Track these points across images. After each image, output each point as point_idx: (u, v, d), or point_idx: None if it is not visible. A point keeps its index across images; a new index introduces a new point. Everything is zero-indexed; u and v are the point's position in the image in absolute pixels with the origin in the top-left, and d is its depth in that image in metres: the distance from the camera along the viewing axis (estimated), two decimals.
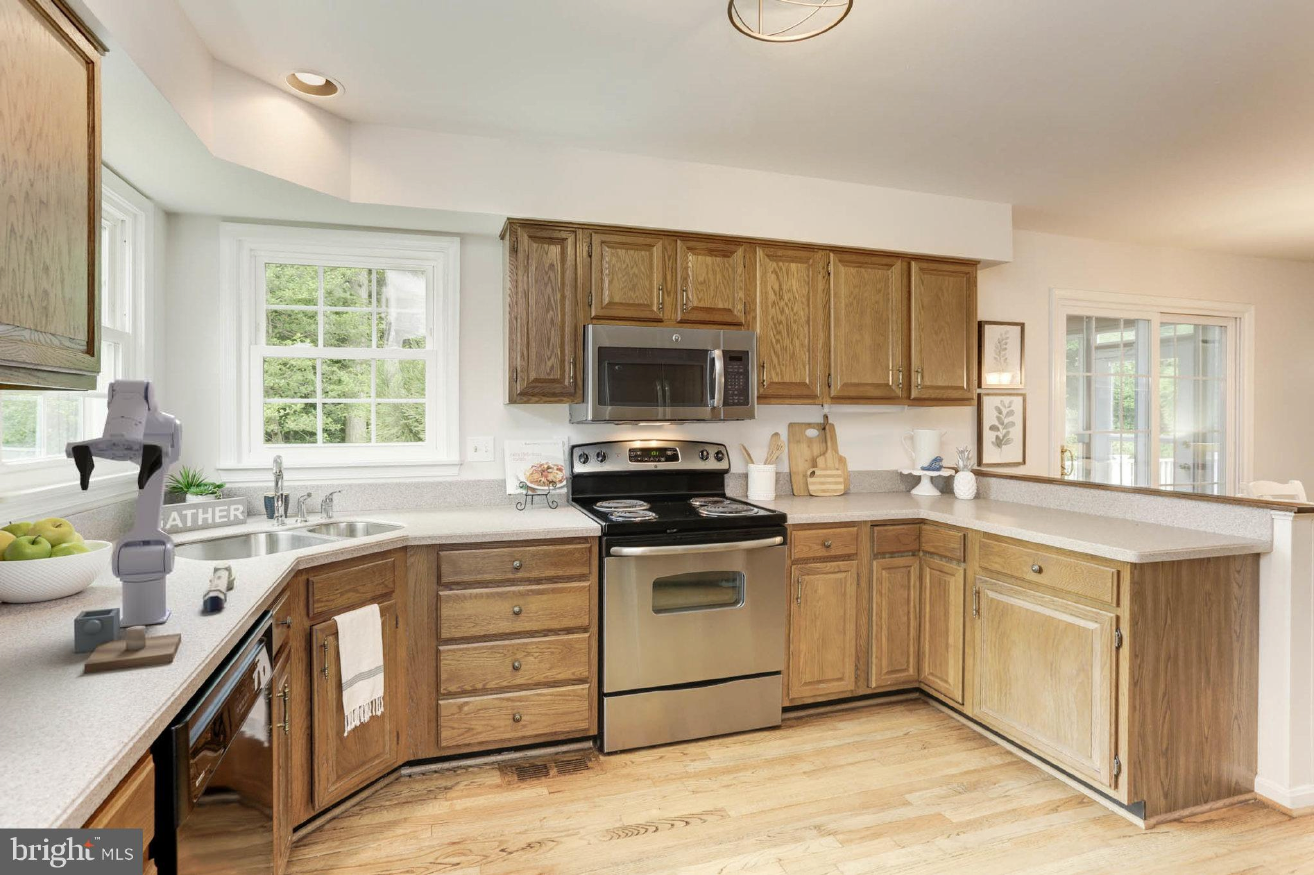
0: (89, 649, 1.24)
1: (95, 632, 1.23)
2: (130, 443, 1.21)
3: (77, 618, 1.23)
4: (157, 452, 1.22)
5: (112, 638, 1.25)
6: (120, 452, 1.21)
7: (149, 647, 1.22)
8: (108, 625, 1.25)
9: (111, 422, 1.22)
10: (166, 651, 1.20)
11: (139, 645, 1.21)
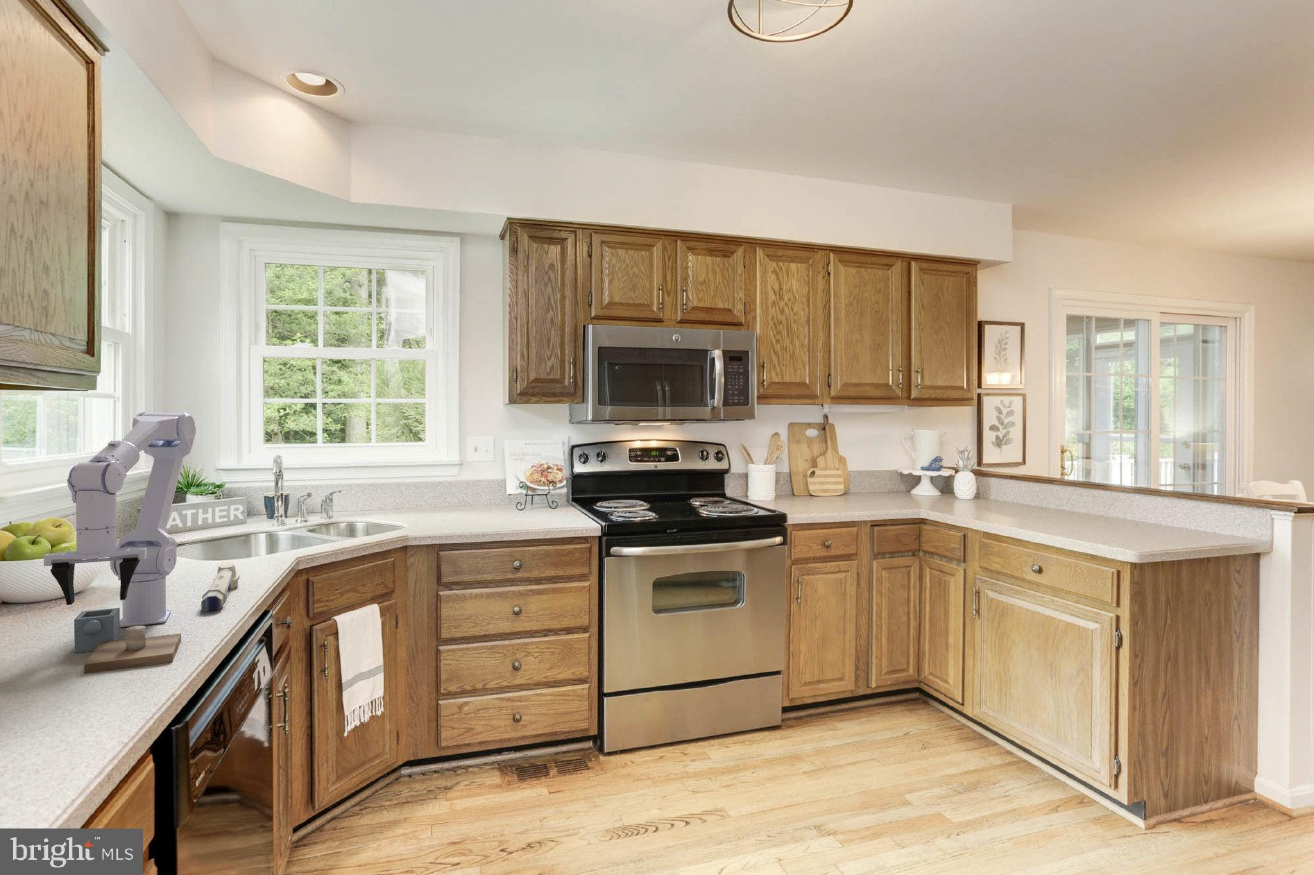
0: (89, 649, 1.24)
1: (95, 632, 1.23)
2: (106, 556, 1.25)
3: (77, 618, 1.23)
4: (134, 568, 1.27)
5: (112, 638, 1.25)
6: (97, 560, 1.26)
7: (149, 647, 1.22)
8: (108, 625, 1.25)
9: (83, 534, 1.23)
10: (166, 651, 1.20)
11: (139, 645, 1.21)
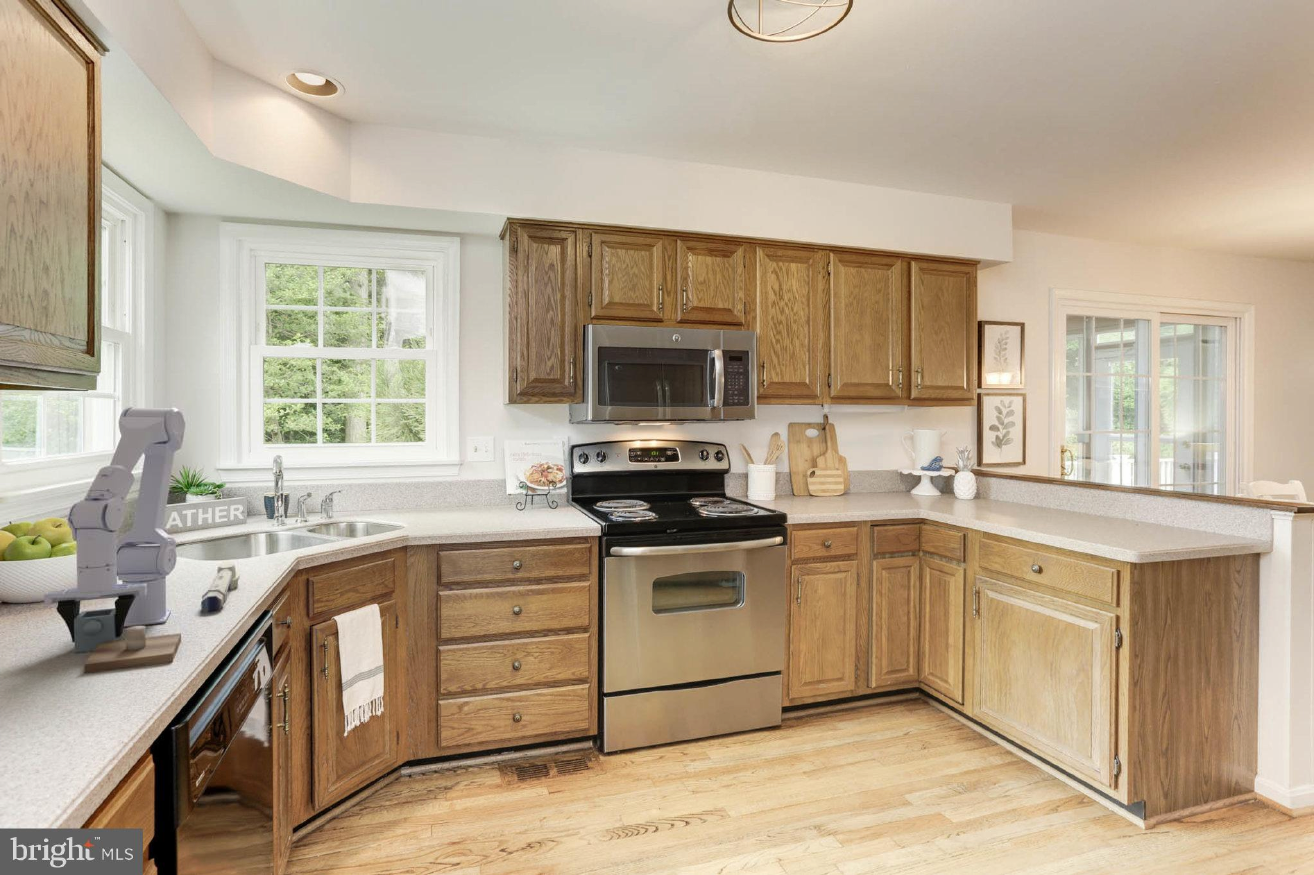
0: (89, 649, 1.24)
1: (95, 632, 1.23)
2: None
3: (77, 618, 1.23)
4: (129, 605, 1.27)
5: (112, 638, 1.25)
6: (98, 597, 1.26)
7: (149, 647, 1.22)
8: (108, 625, 1.25)
9: (83, 572, 1.23)
10: (166, 651, 1.20)
11: (139, 645, 1.21)
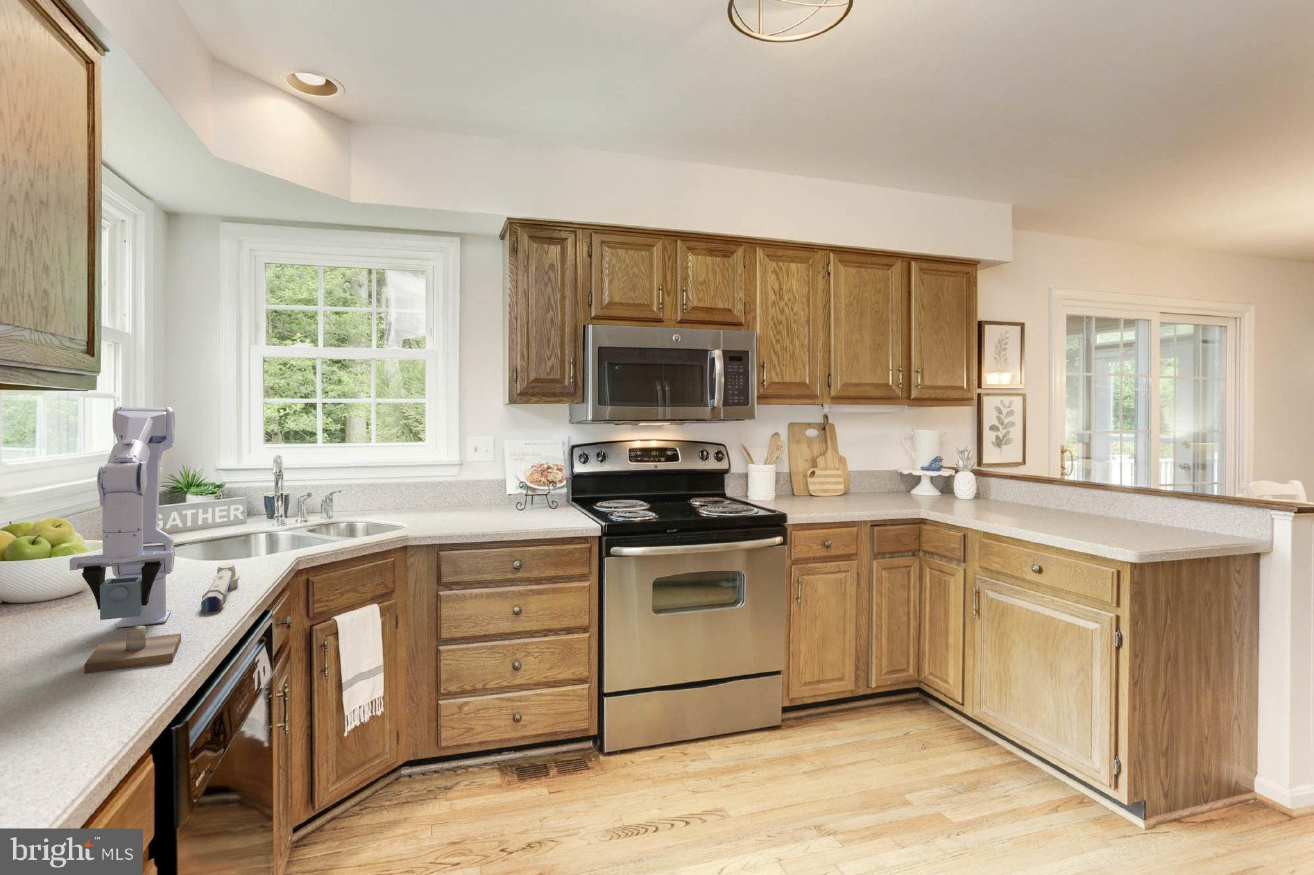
0: (115, 617, 1.20)
1: (121, 599, 1.19)
2: None
3: (103, 584, 1.20)
4: (156, 572, 1.23)
5: (138, 606, 1.22)
6: (124, 564, 1.22)
7: (149, 647, 1.22)
8: (134, 592, 1.21)
9: (109, 537, 1.20)
10: (166, 651, 1.20)
11: (139, 645, 1.21)
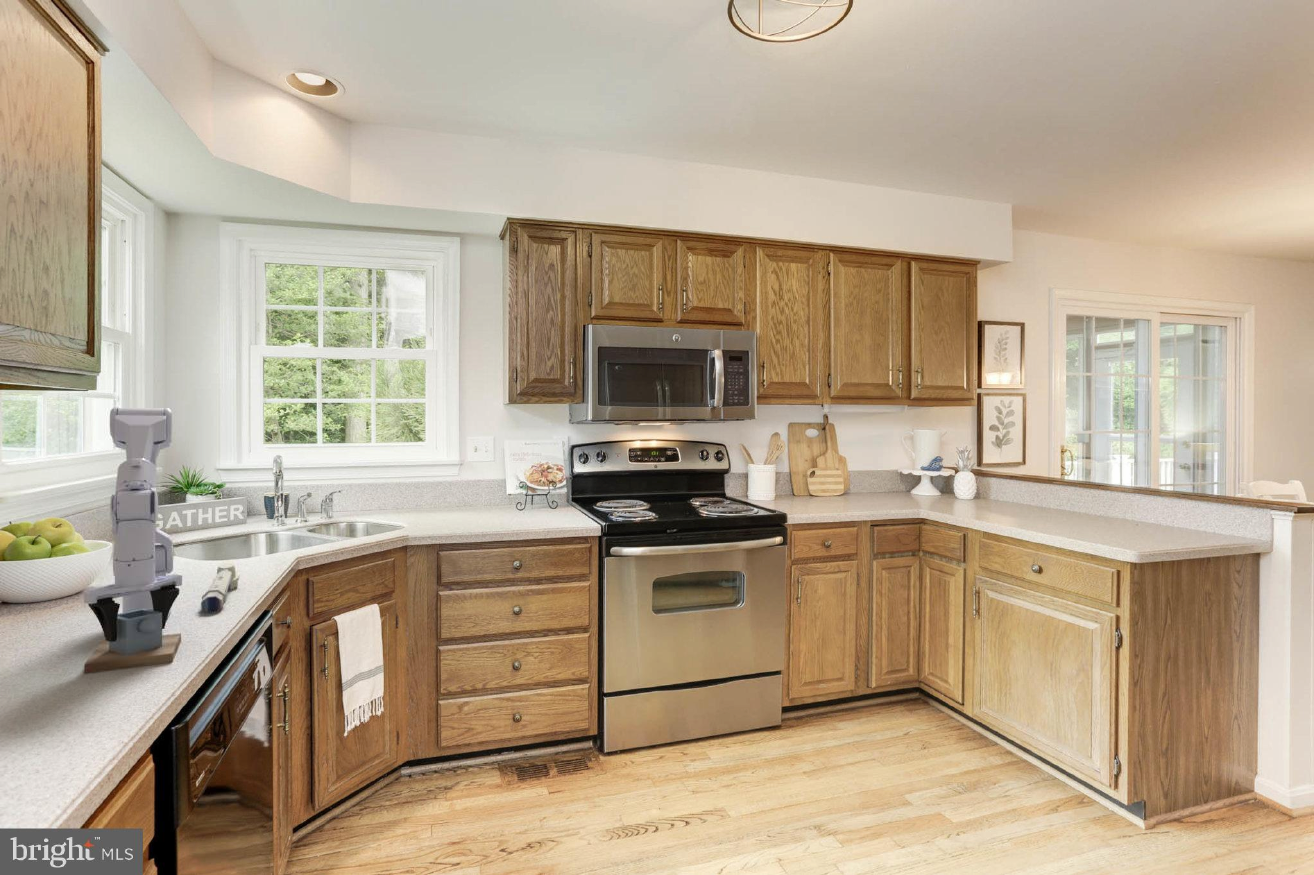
0: (140, 650, 1.20)
1: (154, 630, 1.20)
2: None
3: (126, 619, 1.18)
4: None
5: (161, 636, 1.23)
6: (137, 592, 1.21)
7: None
8: (157, 623, 1.22)
9: (133, 565, 1.19)
10: (166, 651, 1.20)
11: None
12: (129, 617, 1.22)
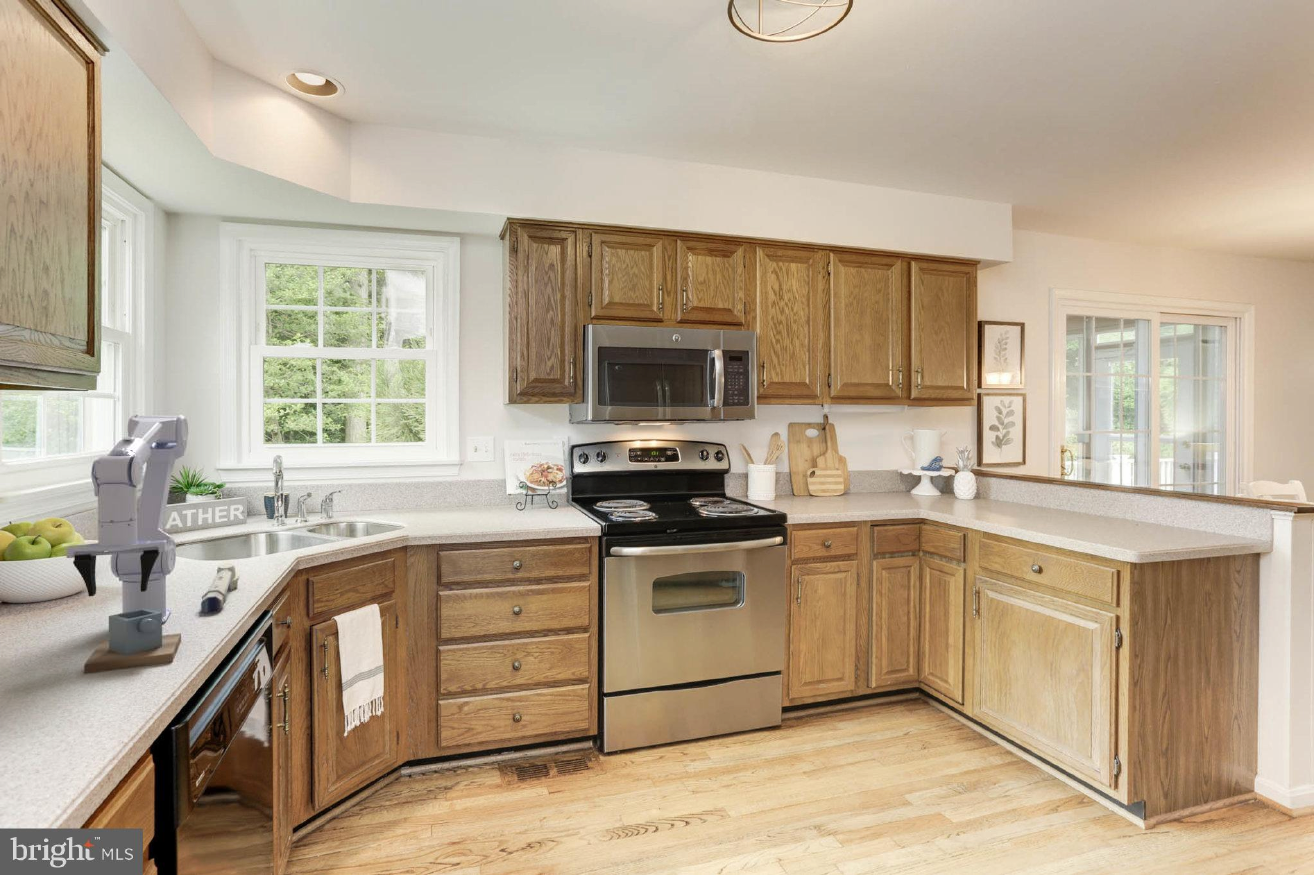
0: (140, 650, 1.20)
1: (154, 630, 1.20)
2: None
3: (126, 619, 1.18)
4: (154, 560, 1.29)
5: (161, 636, 1.23)
6: (119, 552, 1.28)
7: None
8: (157, 623, 1.22)
9: (104, 526, 1.25)
10: (166, 651, 1.20)
11: None
12: (129, 617, 1.22)
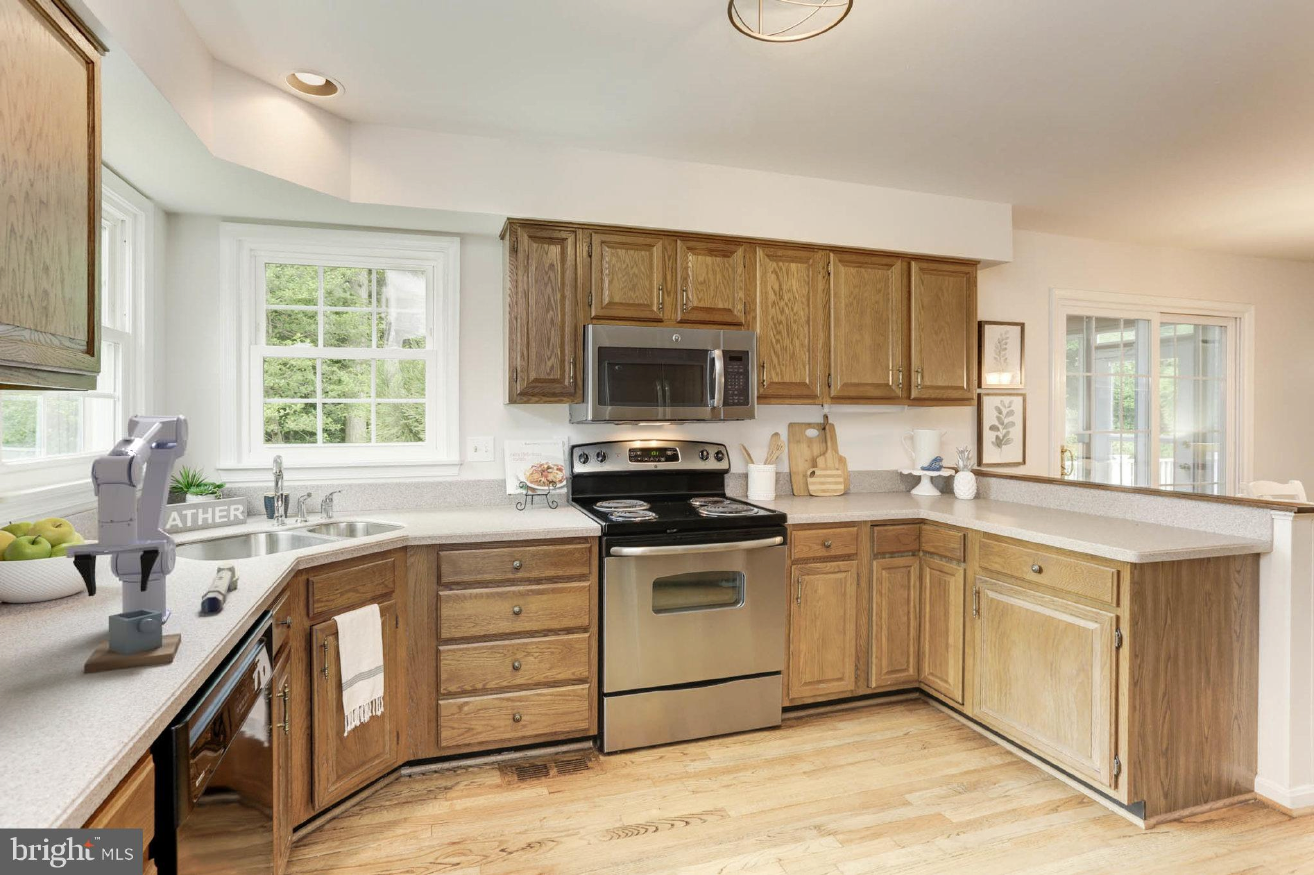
0: (140, 650, 1.20)
1: (154, 630, 1.20)
2: (127, 548, 1.27)
3: (126, 619, 1.18)
4: (154, 560, 1.29)
5: (161, 636, 1.23)
6: (119, 552, 1.28)
7: None
8: (157, 623, 1.22)
9: (104, 526, 1.25)
10: (166, 651, 1.20)
11: None
12: (129, 617, 1.22)
